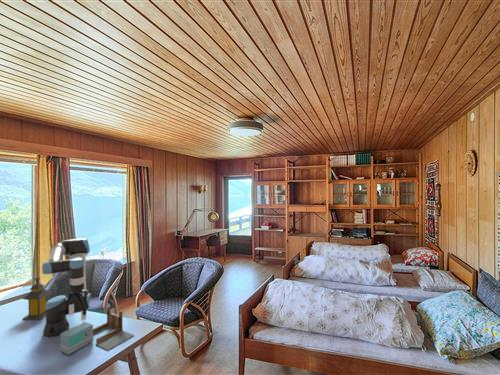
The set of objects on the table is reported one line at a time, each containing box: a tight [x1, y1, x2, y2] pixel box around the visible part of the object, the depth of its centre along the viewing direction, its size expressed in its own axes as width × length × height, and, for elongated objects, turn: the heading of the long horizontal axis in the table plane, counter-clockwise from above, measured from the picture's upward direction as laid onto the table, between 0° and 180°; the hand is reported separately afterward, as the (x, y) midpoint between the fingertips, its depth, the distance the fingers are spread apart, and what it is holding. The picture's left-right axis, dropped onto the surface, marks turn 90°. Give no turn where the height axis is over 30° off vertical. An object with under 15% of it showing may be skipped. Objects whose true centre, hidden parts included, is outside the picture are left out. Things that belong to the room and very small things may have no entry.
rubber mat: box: [95, 330, 135, 352], centre depth 183 cm, size 12×19×1 cm, turn 151°
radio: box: [59, 320, 94, 356], centre depth 175 cm, size 16×9×20 cm, turn 153°
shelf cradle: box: [93, 306, 124, 344], centre depth 191 cm, size 15×18×14 cm
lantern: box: [22, 276, 52, 321], centre depth 216 cm, size 14×14×30 cm
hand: (77, 317), depth 175 cm, fingers open, 13 cm apart
